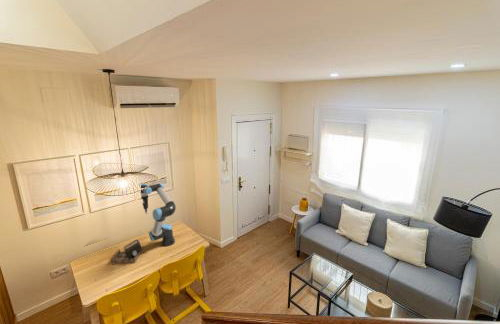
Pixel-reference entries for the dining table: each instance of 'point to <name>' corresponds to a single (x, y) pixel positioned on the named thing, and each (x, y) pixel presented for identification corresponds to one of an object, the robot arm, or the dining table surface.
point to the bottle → (133, 249)
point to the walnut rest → (123, 258)
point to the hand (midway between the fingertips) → (146, 213)
